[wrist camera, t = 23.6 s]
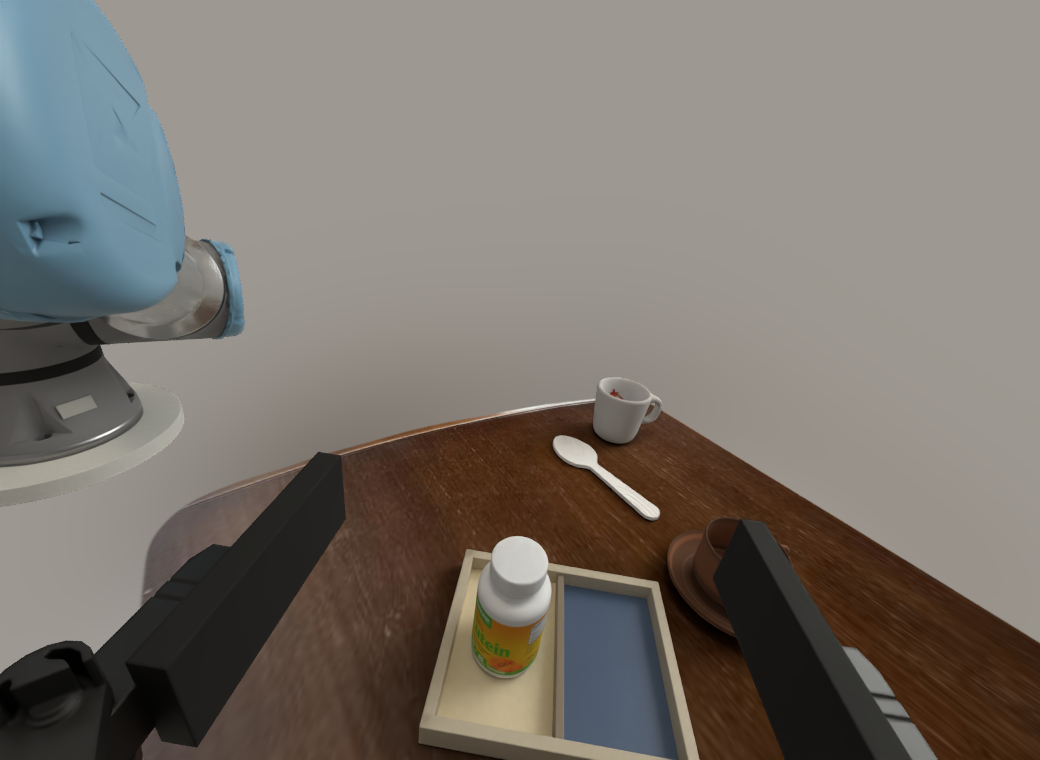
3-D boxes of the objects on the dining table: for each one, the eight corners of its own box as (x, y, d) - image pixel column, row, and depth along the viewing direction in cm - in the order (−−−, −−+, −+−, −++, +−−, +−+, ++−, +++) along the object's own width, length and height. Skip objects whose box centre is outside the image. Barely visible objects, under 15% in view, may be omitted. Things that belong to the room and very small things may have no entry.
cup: (640, 420, 68) (653, 377, 65) (664, 448, 62) (680, 403, 58) (580, 420, 66) (590, 376, 62) (598, 450, 59) (610, 402, 55)
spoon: (642, 527, 46) (643, 524, 46) (543, 443, 59) (543, 440, 58) (670, 511, 49) (671, 507, 49) (570, 433, 62) (570, 430, 61)
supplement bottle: (456, 648, 32) (464, 561, 27) (498, 599, 36) (511, 516, 31) (512, 698, 29) (530, 610, 25) (550, 638, 33) (572, 555, 29)
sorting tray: (418, 743, 27) (418, 727, 26) (465, 564, 39) (466, 548, 38) (694, 795, 26) (704, 780, 25) (652, 596, 39) (658, 581, 38)
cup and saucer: (702, 526, 48) (720, 486, 45) (813, 609, 40) (843, 566, 37) (637, 573, 41) (654, 528, 38) (756, 685, 33) (789, 638, 30)
